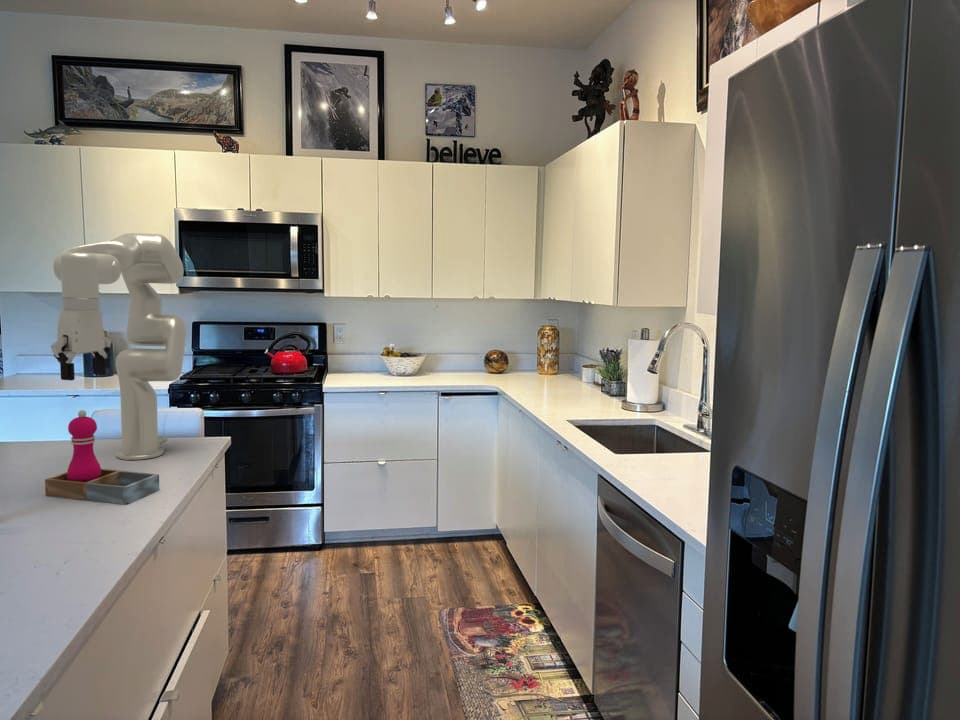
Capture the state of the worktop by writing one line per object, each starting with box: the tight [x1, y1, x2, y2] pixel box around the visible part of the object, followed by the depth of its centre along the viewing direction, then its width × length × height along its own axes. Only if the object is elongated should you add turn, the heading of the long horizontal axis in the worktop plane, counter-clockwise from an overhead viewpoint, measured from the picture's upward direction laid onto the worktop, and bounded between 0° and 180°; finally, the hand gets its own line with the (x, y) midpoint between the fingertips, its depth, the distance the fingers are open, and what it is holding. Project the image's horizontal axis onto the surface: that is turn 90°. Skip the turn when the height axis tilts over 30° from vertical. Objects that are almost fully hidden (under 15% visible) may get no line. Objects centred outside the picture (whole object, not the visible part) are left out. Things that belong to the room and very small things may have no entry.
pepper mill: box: [67, 409, 102, 482], centre depth 161 cm, size 7×7×20 cm
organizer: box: [44, 468, 160, 505], centre depth 161 cm, size 11×22×4 cm, turn 78°
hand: (84, 377), depth 159 cm, fingers open, 9 cm apart
